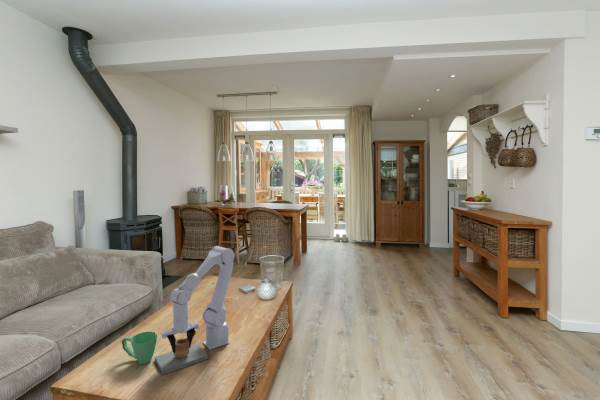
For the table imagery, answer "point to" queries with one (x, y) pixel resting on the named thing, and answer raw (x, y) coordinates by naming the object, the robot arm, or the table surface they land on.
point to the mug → (141, 346)
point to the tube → (181, 347)
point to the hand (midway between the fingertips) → (181, 349)
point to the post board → (180, 359)
